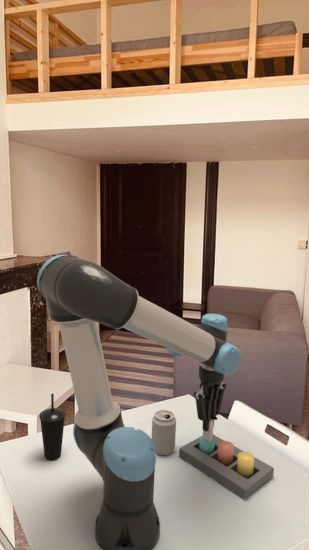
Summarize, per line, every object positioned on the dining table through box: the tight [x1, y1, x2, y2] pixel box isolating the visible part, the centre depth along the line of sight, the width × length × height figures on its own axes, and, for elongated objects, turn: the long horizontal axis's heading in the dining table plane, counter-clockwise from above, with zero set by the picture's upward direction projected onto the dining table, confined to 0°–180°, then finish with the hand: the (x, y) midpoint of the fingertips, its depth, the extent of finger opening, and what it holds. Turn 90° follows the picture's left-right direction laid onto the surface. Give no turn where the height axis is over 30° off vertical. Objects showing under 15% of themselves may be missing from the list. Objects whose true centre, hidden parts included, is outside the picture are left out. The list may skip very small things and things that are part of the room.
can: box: [151, 409, 177, 456], centre depth 126 cm, size 8×8×12 cm
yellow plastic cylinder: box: [237, 451, 255, 478], centre depth 114 cm, size 5×5×5 cm
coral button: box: [217, 440, 235, 466], centre depth 119 cm, size 5×5×5 cm
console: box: [178, 434, 275, 501], centre depth 119 cm, size 14×24×3 cm, turn 43°
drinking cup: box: [38, 393, 67, 462], centre depth 120 cm, size 8×8×20 cm
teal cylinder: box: [199, 435, 215, 455], centre depth 124 cm, size 5×5×5 cm
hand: (207, 438), depth 124 cm, fingers closed
